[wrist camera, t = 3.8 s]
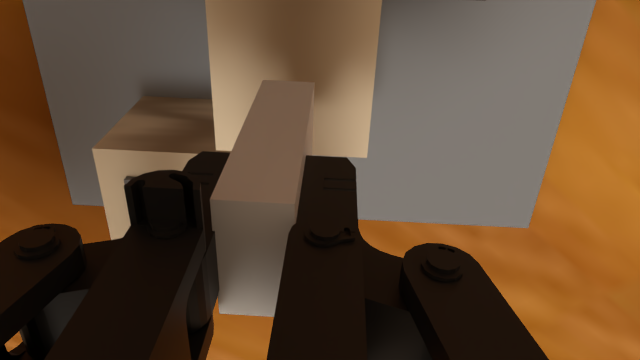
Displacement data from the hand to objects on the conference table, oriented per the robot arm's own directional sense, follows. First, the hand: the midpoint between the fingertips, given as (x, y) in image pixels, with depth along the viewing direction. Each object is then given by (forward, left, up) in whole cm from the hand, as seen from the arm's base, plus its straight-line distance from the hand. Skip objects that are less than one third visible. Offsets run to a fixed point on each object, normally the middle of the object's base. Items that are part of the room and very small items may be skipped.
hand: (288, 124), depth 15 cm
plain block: (0, 0, -10) cm, 10 cm away
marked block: (-5, -6, -10) cm, 13 cm away
